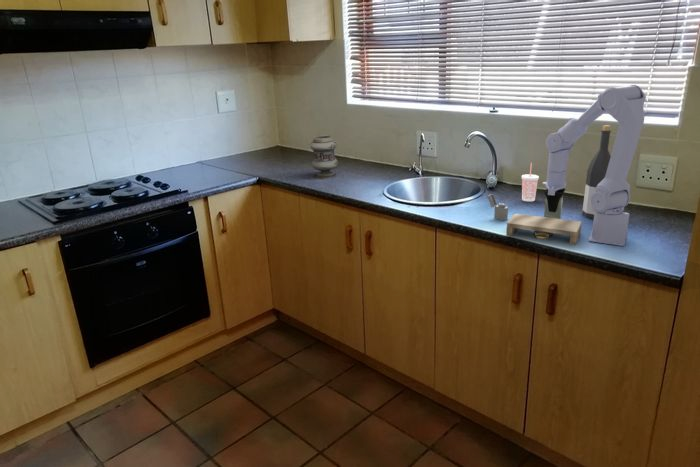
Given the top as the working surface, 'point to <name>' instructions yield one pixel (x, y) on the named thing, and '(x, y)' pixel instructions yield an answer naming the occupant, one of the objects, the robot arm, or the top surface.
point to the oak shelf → (545, 225)
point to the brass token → (542, 235)
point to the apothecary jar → (324, 156)
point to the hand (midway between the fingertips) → (553, 210)
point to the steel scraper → (552, 213)
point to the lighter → (498, 208)
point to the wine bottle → (596, 171)
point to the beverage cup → (529, 186)
